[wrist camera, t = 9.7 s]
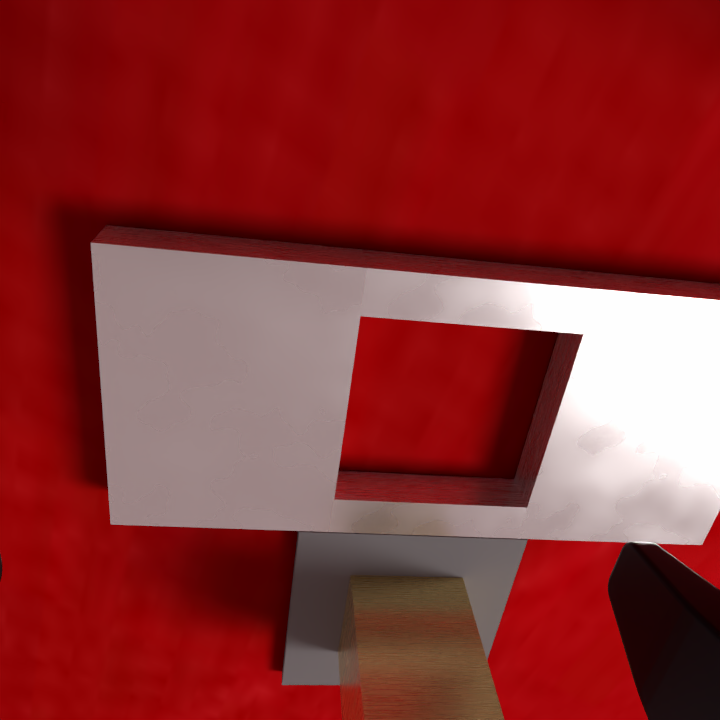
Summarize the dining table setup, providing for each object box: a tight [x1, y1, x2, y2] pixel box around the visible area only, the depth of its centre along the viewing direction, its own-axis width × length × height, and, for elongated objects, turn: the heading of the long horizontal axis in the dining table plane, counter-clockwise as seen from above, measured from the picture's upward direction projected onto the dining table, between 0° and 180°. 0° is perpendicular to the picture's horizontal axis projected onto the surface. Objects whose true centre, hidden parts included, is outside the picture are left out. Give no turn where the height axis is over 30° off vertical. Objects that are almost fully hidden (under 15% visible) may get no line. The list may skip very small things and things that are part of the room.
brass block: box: [338, 575, 504, 720], centre depth 24 cm, size 5×5×7 cm
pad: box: [282, 531, 527, 685], centre depth 27 cm, size 9×9×1 cm
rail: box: [91, 225, 720, 545], centre depth 22 cm, size 22×10×2 cm, turn 83°
